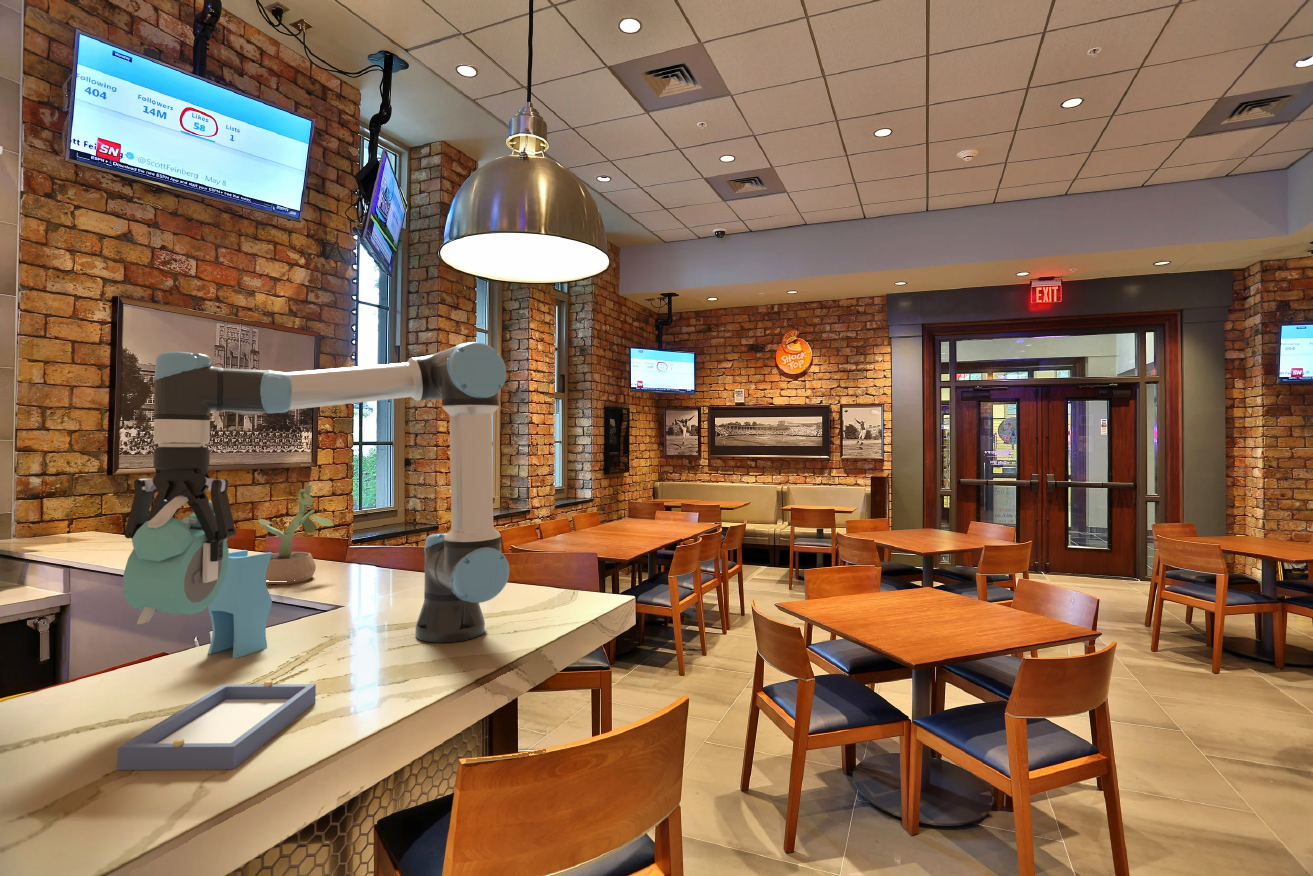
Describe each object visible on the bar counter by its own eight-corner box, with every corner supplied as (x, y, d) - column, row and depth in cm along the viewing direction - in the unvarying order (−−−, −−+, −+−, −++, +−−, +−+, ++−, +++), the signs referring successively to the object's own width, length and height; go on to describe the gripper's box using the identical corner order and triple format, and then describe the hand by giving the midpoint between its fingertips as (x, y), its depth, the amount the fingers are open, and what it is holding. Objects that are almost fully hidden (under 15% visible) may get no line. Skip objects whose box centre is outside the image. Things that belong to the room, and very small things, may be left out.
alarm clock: (182, 601, 114) (184, 489, 114) (238, 600, 115) (239, 490, 115) (107, 630, 97) (109, 498, 97) (173, 629, 98) (175, 498, 98)
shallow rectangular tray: (315, 702, 107) (316, 680, 107) (233, 769, 85) (233, 742, 85) (223, 702, 106) (224, 680, 106) (116, 770, 84) (117, 743, 84)
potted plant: (237, 586, 190) (239, 485, 190) (274, 574, 208) (276, 482, 208) (311, 587, 189) (313, 486, 190) (343, 575, 207) (344, 483, 207)
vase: (270, 646, 135) (272, 552, 135) (235, 658, 127) (237, 558, 128) (243, 642, 138) (245, 549, 138) (207, 653, 130) (209, 555, 130)
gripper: (262, 446, 110) (260, 576, 110) (132, 445, 109) (130, 576, 109) (235, 446, 103) (233, 586, 103) (96, 445, 102) (93, 586, 102)
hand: (180, 580), depth 106 cm, fingers closed on alarm clock, 9 cm apart
